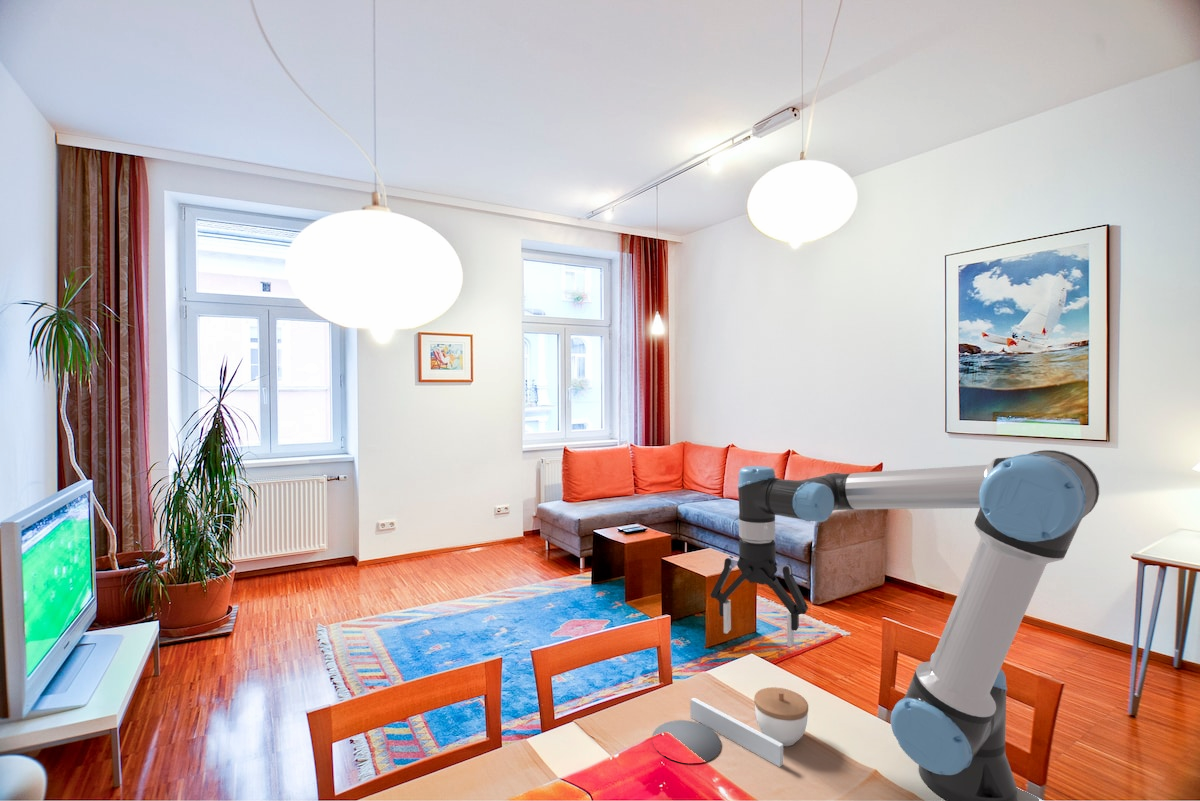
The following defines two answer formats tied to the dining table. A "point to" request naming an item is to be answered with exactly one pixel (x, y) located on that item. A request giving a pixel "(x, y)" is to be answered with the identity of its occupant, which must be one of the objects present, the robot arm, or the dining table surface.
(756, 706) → the lidded jar
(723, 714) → the low wall
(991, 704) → the robot arm
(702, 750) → the gray round disc
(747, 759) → the dining table surface
